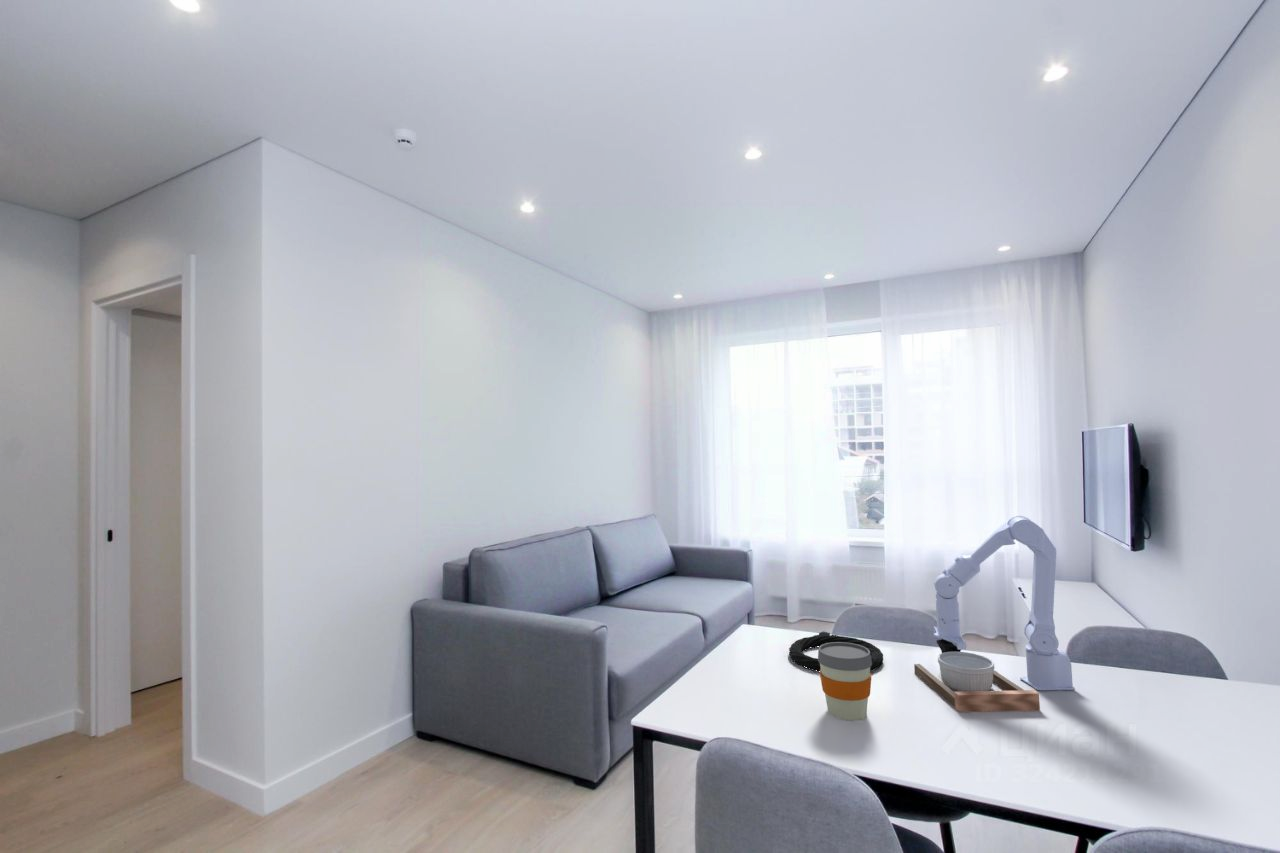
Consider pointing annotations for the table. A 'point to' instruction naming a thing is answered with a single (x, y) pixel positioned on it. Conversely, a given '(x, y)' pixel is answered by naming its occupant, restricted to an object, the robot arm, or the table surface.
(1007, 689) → the wooden serving tray
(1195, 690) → the table surface
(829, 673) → the reusable coffee cup
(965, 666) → the ramekin
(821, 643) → the cable lock
